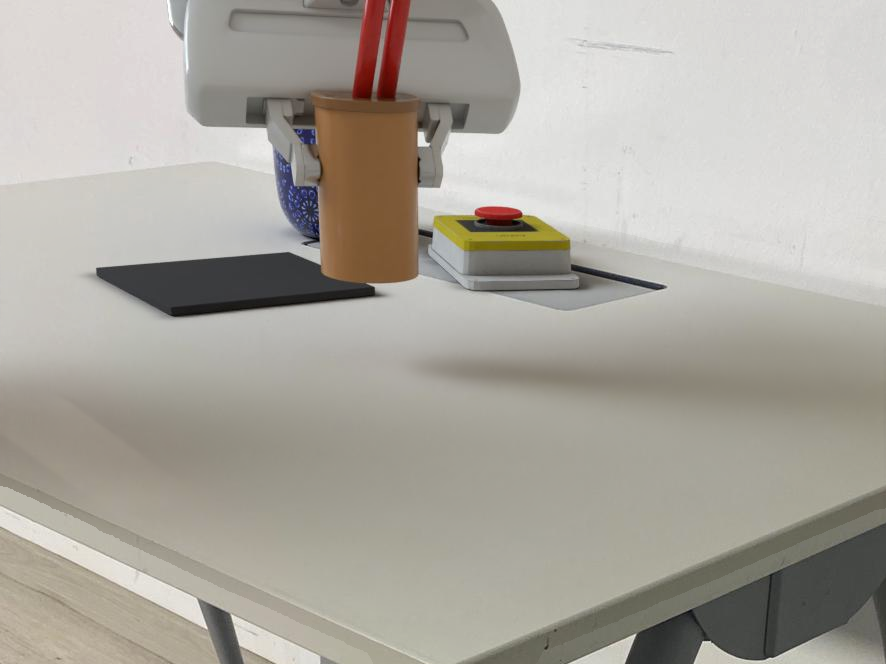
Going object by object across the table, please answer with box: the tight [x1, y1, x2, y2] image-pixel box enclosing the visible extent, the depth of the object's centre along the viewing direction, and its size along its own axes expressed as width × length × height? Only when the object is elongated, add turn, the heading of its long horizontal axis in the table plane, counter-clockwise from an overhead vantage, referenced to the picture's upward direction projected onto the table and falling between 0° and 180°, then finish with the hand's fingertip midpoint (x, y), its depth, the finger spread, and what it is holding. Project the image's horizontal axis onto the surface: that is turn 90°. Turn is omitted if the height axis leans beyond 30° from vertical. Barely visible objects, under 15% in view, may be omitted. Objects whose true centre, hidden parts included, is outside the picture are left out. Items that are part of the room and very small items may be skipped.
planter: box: [271, 129, 320, 240], centre depth 124 cm, size 11×11×11 cm
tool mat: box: [95, 251, 376, 317], centre depth 107 cm, size 16×14×1 cm
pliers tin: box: [310, 0, 421, 285], centre depth 84 cm, size 6×7×17 cm
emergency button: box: [427, 205, 580, 291], centre depth 116 cm, size 9×4×15 cm
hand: (370, 181), depth 86 cm, fingers closed on pliers tin, 6 cm apart
